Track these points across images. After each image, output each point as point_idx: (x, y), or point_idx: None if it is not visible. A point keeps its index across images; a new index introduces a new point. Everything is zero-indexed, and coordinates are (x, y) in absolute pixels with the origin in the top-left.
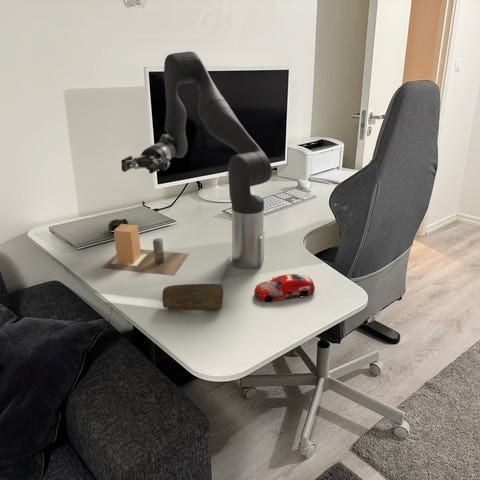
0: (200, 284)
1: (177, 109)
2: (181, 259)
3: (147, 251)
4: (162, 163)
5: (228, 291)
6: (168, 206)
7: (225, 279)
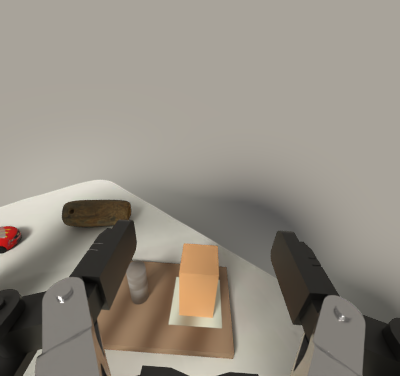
0: (87, 202)
1: None
2: None
3: (170, 340)
4: (13, 290)
5: (49, 248)
6: None
7: (37, 273)
